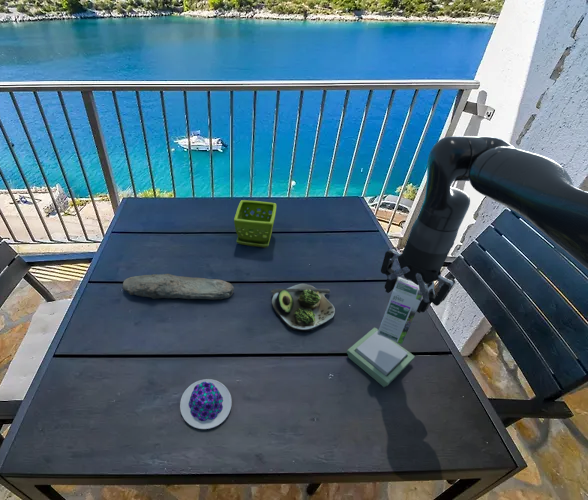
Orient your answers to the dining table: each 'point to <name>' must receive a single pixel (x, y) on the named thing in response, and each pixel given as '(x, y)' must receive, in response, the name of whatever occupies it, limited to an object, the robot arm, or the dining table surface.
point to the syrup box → (400, 310)
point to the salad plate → (302, 306)
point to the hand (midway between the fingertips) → (404, 300)
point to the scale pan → (381, 353)
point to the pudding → (205, 404)
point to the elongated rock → (177, 287)
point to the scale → (370, 368)
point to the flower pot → (254, 223)
